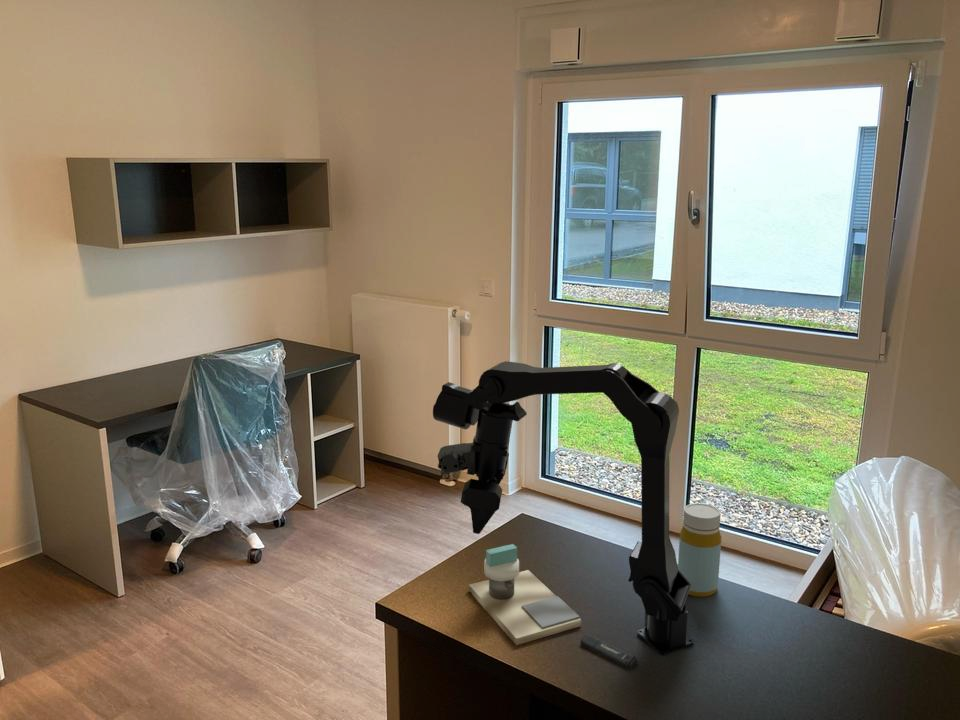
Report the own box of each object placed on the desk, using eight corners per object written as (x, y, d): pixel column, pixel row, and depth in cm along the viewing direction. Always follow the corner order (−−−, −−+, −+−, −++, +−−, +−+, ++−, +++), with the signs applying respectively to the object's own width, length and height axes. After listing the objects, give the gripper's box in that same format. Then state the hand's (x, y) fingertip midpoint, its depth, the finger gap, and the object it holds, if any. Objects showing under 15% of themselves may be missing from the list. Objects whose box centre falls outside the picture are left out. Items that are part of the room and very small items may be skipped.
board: (580, 626, 126) (581, 597, 125) (516, 645, 122) (516, 615, 120) (528, 575, 142) (528, 550, 141) (468, 590, 137) (468, 564, 136)
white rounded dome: (525, 576, 132) (525, 552, 131) (493, 584, 130) (493, 560, 128) (509, 560, 137) (509, 538, 136) (478, 568, 135) (478, 545, 134)
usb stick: (578, 646, 122) (578, 638, 121) (588, 639, 124) (588, 631, 123) (629, 672, 115) (629, 663, 115) (638, 665, 117) (639, 656, 117)
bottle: (713, 579, 141) (718, 502, 137) (721, 599, 134) (727, 520, 130) (674, 577, 141) (678, 501, 138) (680, 597, 135) (684, 518, 131)
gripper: (452, 409, 137) (442, 487, 142) (435, 450, 120) (423, 538, 124) (514, 419, 137) (501, 498, 141) (506, 463, 119) (491, 551, 124)
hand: (479, 519), depth 133 cm, fingers open, 9 cm apart
